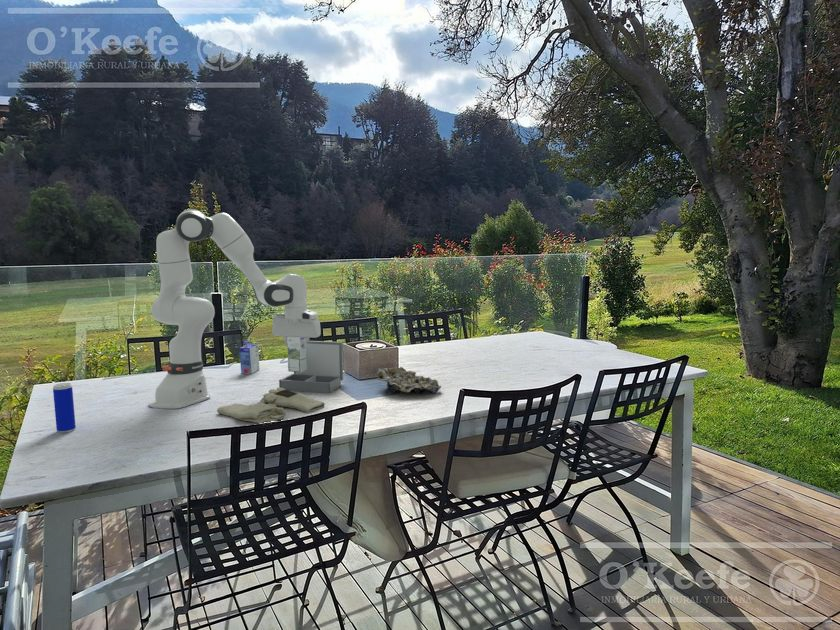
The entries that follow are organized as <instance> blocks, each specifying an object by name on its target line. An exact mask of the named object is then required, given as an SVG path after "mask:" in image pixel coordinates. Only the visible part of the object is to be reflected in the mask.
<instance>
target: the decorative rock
mask: <svg viewBox="0 0 840 630" xmlns="http://www.w3.org/2000/svg"><path fill="white" fill-rule="evenodd" d="M416 374H417V372H416V371H412V370H406V369H405V368H404V367H402V366H400V367H398V366H396V365H393V367H392V366H391V367H387V368H386V367H384V368H377V372H376V375H377V378H378V381H380V382H386V386H387V388H389V389H390V391H391V392H397V391H401V392H404V393H410V392H411V391H413V390H414V392H415V393H416V394H419V393H420V392H422V391H424V390H427V391H429V392H430V393H431V394H434V393H438V392H439V391H440V390H441V388H442V386H441V385H439V381H438V380H437V379H432V378H431V377H429V376H428V377H425V376H423V375H416Z"/></svg>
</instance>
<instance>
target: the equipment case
mask: <svg viewBox="0 0 840 630" xmlns="http://www.w3.org/2000/svg"><path fill="white" fill-rule="evenodd" d="M343 344H344V343H343V341H327V340H326V341H323V340H309V341H308V343H307V348H306V367H307V369H306V370H305V371H303V372H293V373H290V374H289V375H287V376H284V377H282V378H280V379H279V380H278V382H279V383H278V385H279V386H278V388H279V387H280V388H284V389H286V390H289V391H293V392H306V393H307V392H309V393H310V392H311V393H321V394H324V393H325V394H331V393H333V392H334V391H335V390H338V389H339V388H341V385H342V383H341V382H342V381H344V355H343V354H344V346H343Z"/></svg>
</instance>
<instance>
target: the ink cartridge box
mask: <svg viewBox="0 0 840 630" xmlns="http://www.w3.org/2000/svg"><path fill="white" fill-rule="evenodd" d="M243 342H244V345H243V346H240V347H239V361H240V363H239V364H240V372H241V373H240V374H242V375H244V374H245V375H252V374H254V373H255V372H257V371H259V370H260V354H259V353H260V352H259V343H249V341H248V339H247V340H244V341H243Z"/></svg>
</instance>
